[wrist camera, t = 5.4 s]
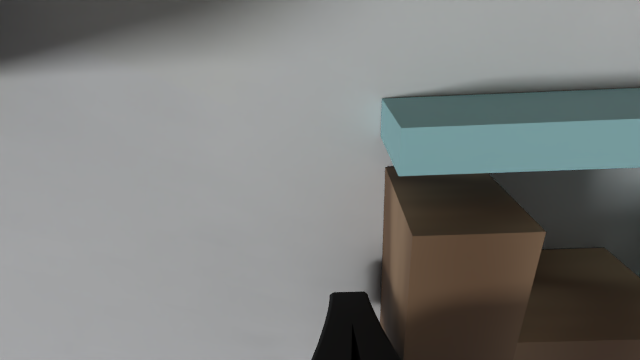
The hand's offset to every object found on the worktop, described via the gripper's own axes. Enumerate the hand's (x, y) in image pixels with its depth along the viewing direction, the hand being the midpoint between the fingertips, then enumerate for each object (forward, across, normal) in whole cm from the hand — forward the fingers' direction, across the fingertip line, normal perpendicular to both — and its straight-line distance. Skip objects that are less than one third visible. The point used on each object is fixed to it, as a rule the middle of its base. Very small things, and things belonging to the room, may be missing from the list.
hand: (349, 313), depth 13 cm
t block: (+1, -5, 0) cm, 5 cm away
